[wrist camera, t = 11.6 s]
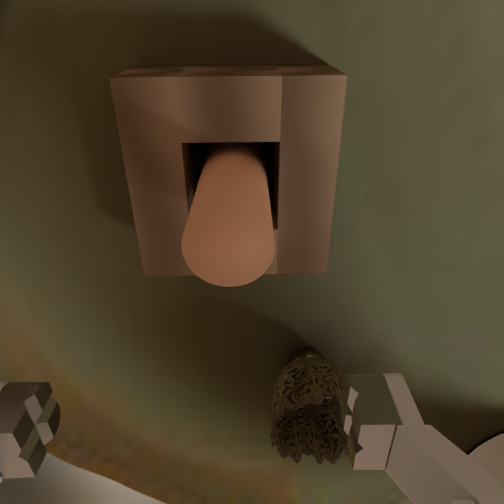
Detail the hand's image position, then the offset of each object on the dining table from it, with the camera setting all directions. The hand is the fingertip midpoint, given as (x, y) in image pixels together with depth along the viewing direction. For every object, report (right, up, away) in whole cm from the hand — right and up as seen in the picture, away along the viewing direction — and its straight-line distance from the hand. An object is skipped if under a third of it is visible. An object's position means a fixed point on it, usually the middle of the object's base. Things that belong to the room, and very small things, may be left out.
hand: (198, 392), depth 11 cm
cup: (+7, -6, +26) cm, 28 cm away
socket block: (0, +10, +16) cm, 19 cm away
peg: (0, +10, +16) cm, 19 cm away
